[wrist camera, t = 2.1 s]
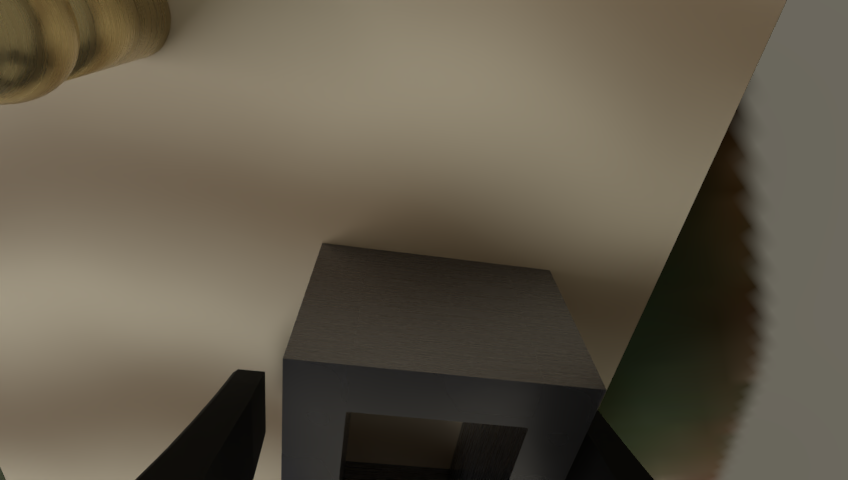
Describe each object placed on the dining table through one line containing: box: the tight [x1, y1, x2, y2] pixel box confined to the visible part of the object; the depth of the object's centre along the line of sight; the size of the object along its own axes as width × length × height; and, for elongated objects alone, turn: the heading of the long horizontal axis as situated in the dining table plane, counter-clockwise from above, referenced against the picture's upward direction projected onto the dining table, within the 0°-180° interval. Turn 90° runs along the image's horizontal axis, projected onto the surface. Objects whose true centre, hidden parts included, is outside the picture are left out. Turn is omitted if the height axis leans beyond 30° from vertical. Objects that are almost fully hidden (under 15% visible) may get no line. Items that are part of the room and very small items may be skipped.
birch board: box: [0, 0, 787, 480], centre depth 11 cm, size 20×16×2 cm
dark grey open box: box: [281, 243, 606, 480], centre depth 11 cm, size 8×5×4 cm, turn 171°
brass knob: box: [0, 0, 171, 105], centre depth 6 cm, size 2×2×4 cm
